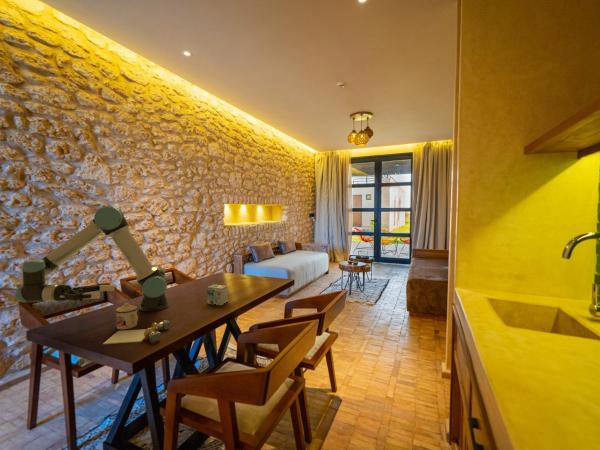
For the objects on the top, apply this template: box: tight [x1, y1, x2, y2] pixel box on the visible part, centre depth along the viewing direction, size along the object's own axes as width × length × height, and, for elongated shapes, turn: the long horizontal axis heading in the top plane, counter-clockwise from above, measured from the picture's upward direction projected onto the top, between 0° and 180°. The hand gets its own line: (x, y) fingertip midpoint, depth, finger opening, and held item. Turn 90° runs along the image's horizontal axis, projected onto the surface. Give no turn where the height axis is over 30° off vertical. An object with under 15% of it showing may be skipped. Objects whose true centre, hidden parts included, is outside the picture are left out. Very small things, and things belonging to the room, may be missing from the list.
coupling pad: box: [102, 328, 147, 345], centre depth 127 cm, size 13×15×1 cm
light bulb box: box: [206, 284, 228, 306], centre depth 175 cm, size 11×7×11 cm, turn 71°
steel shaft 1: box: [144, 327, 161, 344], centre depth 123 cm, size 7×4×5 cm, turn 54°
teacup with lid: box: [115, 302, 139, 331], centre depth 138 cm, size 12×9×12 cm
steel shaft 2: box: [150, 319, 170, 332], centre depth 134 cm, size 7×4×5 cm, turn 144°
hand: (107, 291), depth 136 cm, fingers open, 13 cm apart
